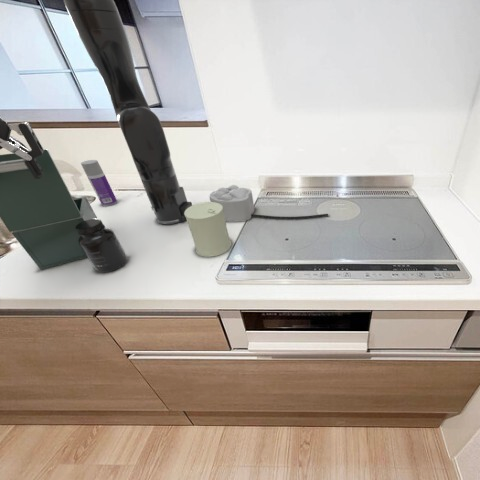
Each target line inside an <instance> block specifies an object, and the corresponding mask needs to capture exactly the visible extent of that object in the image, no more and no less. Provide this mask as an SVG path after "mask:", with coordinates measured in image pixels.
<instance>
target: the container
mask: <svg viewBox="0 0 480 480" xmlns="http://www.w3.org/2000/svg"><path fill="white" fill-rule="evenodd" d="M80 165H81V167H82V169H83V171H84V173H85V175H86V177H87V179H88V181H89V183H90V185H91V187H92V189H93V191H94V192H95V194H96V196H97V199H98V200H99V202H100V205H101V206H103V207H110V206H113V205H116V204H117V203H118V200H117V197H116V195H115V193H114V191H113V189H112V187H111V184H110V182H109V181H108V179H107V177H106V174H105V172H104V171H103V168H102V167H101V165H100V163H99V161H98V160H97V159H89V160H88V159H87V160H84V161H82V162H80Z"/></svg>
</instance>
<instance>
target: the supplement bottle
mask: <svg viewBox="0 0 480 480" xmlns="http://www.w3.org/2000/svg"><path fill="white" fill-rule="evenodd" d="M75 228H76V230H77V232H78V234H79V235H80V237H79V240H78V243H79V245H80V246H81V248H82V249H83V251H84V252H85V254H86V255H87V257H86V258H88V260H89V261H90V263H91V264H92V266H93V267H94V269H95V270H96V271H98V272H99V273H108V272H113V271H116V270H118V269H120V268H121V267H123V266H124V265H125V264H126V263H127V262H128V256H127V254H126V252H125V250H124V248H123V246H122V245H121V243H120V241H119V239H118V237H117V236H116V234H115V232H114V231H113V230H112V229H110V228H108V227H106V226H105V224H104V223H103V221H102V220H101V219H99V218H98V219H90V220H86V221H83V222H81V223H79V224H78V225H77V226H76V227H75Z"/></svg>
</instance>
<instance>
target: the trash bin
mask: <svg viewBox="0 0 480 480" xmlns="http://www.w3.org/2000/svg"><path fill="white" fill-rule="evenodd" d="M73 200H74V202H75V204H76V205H77V207H78V209H79V211H80V213H81V215H82V216H81V217H76V218H72V219H67V220H63V221H58V222H53V223H49V224H44V225H40V226H35V227H30V228H26V229H21V230H17V231H12V232H11V235H12V236H13V237H14V238H15V239H16V241H17V242H18V243H19V245H20V246H21V247H22V249H24V250H25V252H26V253H27V255H28V256H29V257H30V259H31V260H32V261H33V263H35V265H36V266H37V268H39V270H40V271H43V270H46V269H50V268H54V267H58V266H60V265H64V264H65V265H66V264H68V263H72V262H76V261H79V260H82V259H85V258H86V259H87V258H88V257H87V255H86V254H85V252H84V251H83V249H82V248H81V246H80V245H79V243H78V240H79V237H80V235H79V234H78V232H77V230H76V228H75V227H76V226H77V225H78V224H79V223H81V222H83V221H86V220H90V219H99V218H98V217H97V215H96V213H95V211H94V209H93V207H92V205H91V204H90V202H89V200H88V199H87V196H81V197H76V198H73Z"/></svg>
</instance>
